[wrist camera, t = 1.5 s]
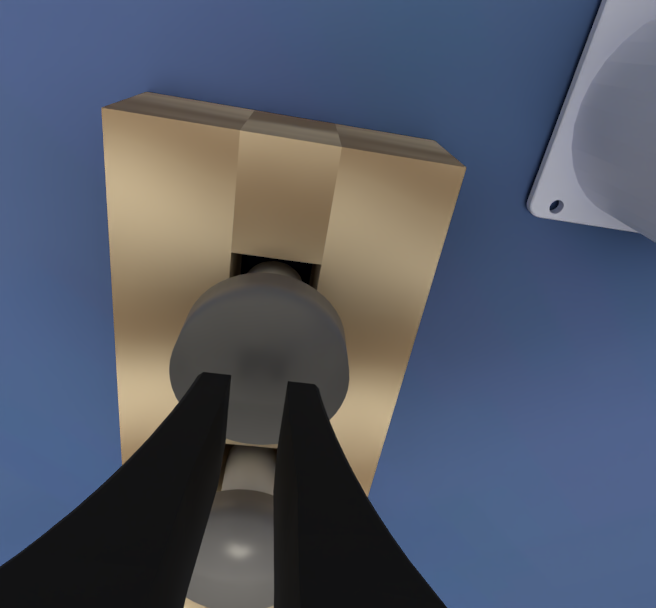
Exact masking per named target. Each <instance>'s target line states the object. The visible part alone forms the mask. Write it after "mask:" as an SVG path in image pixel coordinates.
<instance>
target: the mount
mask: <svg viewBox="0 0 656 608" xmlns="http://www.w3.org/2000/svg"><path fill="white" fill-rule="evenodd" d="M102 125H103V142H104V159H105V177H106V194H107V211H108V229H109V246H110V263H111V280H112V298H113V315H114V332H115V349H116V367H117V384H118V401H119V419H120V436H121V453H122V465H123V464H124V463H125V462H126V461H127V460H128V459H129V458H130V457H131V456H132V455H133V454H134V453H135V452H136V451H137V450H138V449H139V448H140V447H141V446H142V444H143V443H144V442H145V441H146V440H147V439H148V438H149V437H150V436H151V435H152V434H153V432H154V431H155V430H156V429H157V428H158V427H159V425H160V424H161V423H162V422H163V421H164V420H165V418H166V417H167V416H168V415H169V414H170V413H171V411H172V410H173V409H174V408H175V406H176V405H177V404H178V403H179V402H178V400H177V399H176V397H175V394H174V392H173V389H172V386H171V382H170V375H169V365H170V358H171V354H172V351H173V348H174V346H175V344H176V341H177V339H178V337H179V334H180V332H181V330H182V327H183V325H184V323H185V321H186V318H187V316H188V314H189V312H190V309H191V308H192V306H193V305H194V303H195V302H196V301H197V300H198V299H199V297H200V296H201V295H202V294H203V293H205V292H206V291H207V290H208V289H209V288H211V287H212V286H214V285H216V284H217V283H219V282H221V281H223V280H226V279H228V278H231V277H234V276H238V275H241V263H242V254H246V255H253V256H261V257H268V258H275V259H283V260H290V261H297V262H305V263H312V269H311V275H310V281H309V286H311V287H313V288H314V289H316V290H317V291H318V292H320V293H321V294H322V295H323V296H324V297H325V298H326V299H327V300H328V301H329V302H330V303H331V304H332V306H333V307H334V309H335V310H336V311H337V313H338V315H339V317H340V319H341V322H342V325H343V328H344V333H345V339H346V347H347V356H348V364H349V386H348V391H347V394H346V397H345V399H344V401H343V403H342V405H341V407H340V408H339V410H338V411H337V413H336V414H335V415H334V416H333V417H332V418H331V419H330V423H331V425H332V428H333V430H334V432H335V435H336V437H337V439H338V441H339V444H340V446H341V448H342V450H343V452H344V454H345V456H346V458H347V460H348V462H349V464H350V466H351V468H352V470H353V472H354V474H355V476H356V478H357V480H358V481H359V483H360V485H361V487H362V489H363V490H364V492H365V494H366V496H367V497H368V494H369V490H370V487H371V484H372V480H373V477H374V474H375V470H376V467H377V464H378V460H379V457H380V454H381V450H382V447H383V444H384V441H385V437H386V434H387V431H388V427H389V424H390V421H391V417H392V414H393V411H394V407H395V404H396V401H397V397H398V394H399V391H400V387H401V384H402V381H403V377H404V374H405V371H406V367H407V364H408V361H409V357H410V354H411V351H412V347H413V344H414V341H415V337H416V334H417V331H418V327H419V324H420V321H421V317H422V314H423V311H424V307H425V304H426V301H427V297H428V294H429V291H430V287H431V284H432V281H433V277H434V274H435V271H436V267H437V264H438V261H439V257H440V254H441V251H442V247H443V244H444V241H445V237H446V234H447V231H448V227H449V224H450V221H451V217H452V214H453V211H454V207H455V204H456V201H457V197H458V194H459V191H460V187H461V184H462V181H463V177H464V174H465V171H466V167H465V166H464V165H463V164H462V163H461V162H459V161H458V160H457V159H456V158H455V157H453V156H452V155H451V154H450V153H449V152H447V151H446V150H445V149H444V148H443V147H442V146H440V145H439V144H438V143H437V142H436V141H434V140H428V139H422V138H416V137H410V136H404V135H398V134H393V133H387V132H381V131H375V130H369V129H363V128H357V127H351V126H345V125H339V124H334V123H328V122H322V121H316V120H310V119H304V118H298V117H292V116H286V115H280V114H274V113H269V112H263V111H257V110H251V109H245V108H239V107H233V106H227V105H221V104H215V103H210V102H204V101H198V100H192V99H186V98H180V97H174V96H168V95H162V94H156V93H150V92H145V93H142V94H139V95H136V96H133V97H130V98H128V99H125V100H122V101H119V102H116V103H113V104H110V105H107V106H105V107H102ZM234 445H246V446H257V447H267V448H272V449H273V450H274V451H275V453H276V457H277V447H278V444H269V445H257V444H247V443H241V442H236V441H232V440H229V439H226V443H225V449H224V454H223V460H222V466H221V471H220V477H219V482H218V487H217V491H216V492H219V491H221V489H222V484H223V479H224V474H225V468H226V463H227V458H228V453H229V451H230V449H231V448H232V447H233V446H234ZM184 608H209V607H206V606H203V605H200V604H198V603H195V602H193V601H191V600H190V599H188V598H186V600H185V604H184ZM268 608H274V606H271V607H268Z"/></svg>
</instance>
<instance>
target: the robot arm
mask: <svg viewBox="0 0 656 608" xmlns="http://www.w3.org/2000/svg"><path fill="white" fill-rule="evenodd" d="M555 200H559V205H558V206H557V208H555V209H554V210H549V208H550V205H551V203H552V202H554V201H555ZM527 208H528V210H529V211H530V213H531V214H533V215H534V216H536V217H540V218H546V219H553V220H559V221H566V222H572V223H578V224H585V225H591V226H598V227H604V228H611V229H617V230H624V231H630V232H636V233H640V234H642V235H644V236H645V237H647V238H649V239H650V240H652V241H654V242H655V243H656V0H602V2H601V5H600V7H599V10H598V13H597V15H596V18H595V21H594V23H593V26H592V29H591V31H590V34H589V37H588V40H587V42H586V45H585V48H584V50H583V53H582V56H581V58H580V61H579V64H578V66H577V69H576V72H575V74H574V77H573V80H572V82H571V85H570V88H569V90H568V93H567V96H566V99H565V101H564V104H563V107H562V109H561V112H560V115H559V117H558V120H557V123H556V125H555V128H554V131H553V133H552V136H551V139H550V141H549V144H548V147H547V149H546V152H545V155H544V157H543V160H542V163H541V166H540V168H539V171H538V174H537V176H536V179H535V182H534V184H533V187H532V190H531V192H530V195H529V198H528V201H527ZM230 384H231V375H227V374H218V373H209V372H202V373H201V374H199V375H198V376H197V377H196V379H195V381H194V382H193V384H192V385H191V386H190V388H189V389H188V391H187V392H186V393H185V395H184V396H183V397H182V399H181V400H180V401H179V403H178V404H177V405H176V406H175V408H174V409H173V410H172V411H171V413H170V414H169V415H168V416H167V417H166V418H165V420H164V421H163V422H162V423H161V424H160V425H159V427H158V428H157V429H156V430H155V431H154V432H153V434H152V435H151V436H150V437H149V438H148V439H147V440H146V441H145V442H144V443H143V444H142V446H141V447H140V448H139V449H138V450H137V451H136V452H135V453H134V454H133V455H132V456H131V457H130V458H129V459H128V460H127V461H126V462H125V463H124V464H123V465H122V466H121V467H120V468H119V469H118V470H117V471H116V472H115V473H114V474H113V475H112V476H111V477H110V478H109V479H108V480H107V481H106V482H105V483H103V484H102V485H101V486H100V487H99V488H98V489H97V490H96V491H95V492H94V493H92V494H91V495H90V496H89V497H88V498H87V499H86V500H84V501H83V502H82V503H81V504H80V505H79V506H78V507H76V508H75V509H74V510H73V511H72V512H71V513H69V514H68V515H67V516H66V517H64V518H63V519H62V520H61V521H59V522H58V523H57V524H56V525H54V526H53V527H52V528H51V529H50V530H48V531H47V532H46V533H45V534H43V535H42V536H41V537H40V538H38V539H37V540H36V541H34V542H33V543H32V544H30V545H29V546H28V547H27V548H25V549H24V550H23V551H21V552H20V553H19V554H17V555H16V556H15V557H13V558H12V559H10V560H9V561H7V562H6V563H5V564H3V565H2V566H0V608H184V604H185V600H186V596H187V592H188V588H189V584H190V581H191V577H192V574H193V570H194V567H195V564H196V560H197V557H198V553H199V550H200V546H201V543H202V539H203V536H204V533H205V529H206V526H207V522H208V519H209V515H210V512H211V508H212V505H213V501H214V498H215V494H216V491H217V487H218V482H219V477H220V471H221V466H222V460H223V454H224V449H225V443H226V431H227V419H228V407H229V396H230ZM273 526H274V608H447V607H446V606H445V604H444V603H443V602H442V601H441V599H440V598H439V597H438V596H437V594H436V593H435V592H434V591H433V589H432V588H431V587H430V586H429V584H428V583H427V582H426V581H425V579H424V578H423V577H422V576H421V574H420V573H419V572H418V571H417V569H416V568H415V567H414V566H413V564H412V563H411V562H410V560H409V559H408V558H407V556H406V555H405V553H404V552H403V551H402V549H401V548H400V546H399V545H398V544H397V542H396V541H395V539H394V538H393V537H392V535H391V534H390V532H389V531H388V529H387V528H386V526H385V525H384V523H383V521H382V520H381V518H380V517H379V515H378V514H377V512H376V511H375V509H374V507H373V506H372V504H371V502H370V501H369V499H368V497H367V496H366V494H365V492H364V490H363V489H362V487H361V485H360V483H359V481H358V480H357V478H356V476H355V474H354V472H353V470H352V468H351V466H350V464H349V462H348V460H347V458H346V456H345V454H344V452H343V450H342V448H341V446H340V444H339V441H338V439H337V437H336V435H335V432H334V430H333V428H332V425H331V423H330V420H329V418H328V415H327V413H326V410H325V407H324V404H323V401H322V398H321V395H320V391H319V388H318V387H317V386H316V385H315V384H310V383H301V382H291V381H288V383H287V389H286V396H285V402H284V409H283V415H282V421H281V428H280V434H279V441H278V447H277V457H276V467H275V478H274V489H273Z"/></svg>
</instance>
